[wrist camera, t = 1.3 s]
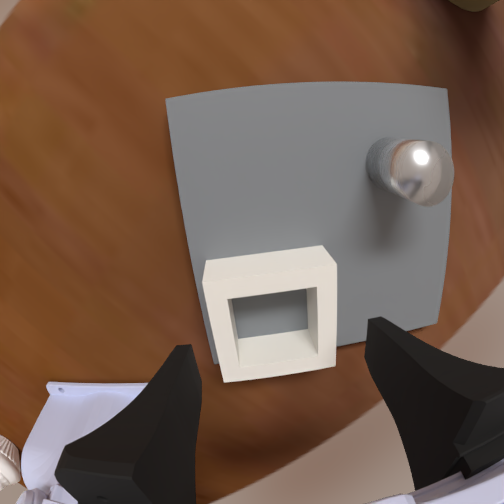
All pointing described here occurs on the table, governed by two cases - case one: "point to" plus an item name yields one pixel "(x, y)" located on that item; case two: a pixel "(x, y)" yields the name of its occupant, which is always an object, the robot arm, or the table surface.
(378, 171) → the post
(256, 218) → the board
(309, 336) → the collar
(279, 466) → the table surface
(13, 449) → the white rounded jar shape
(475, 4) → the cork
